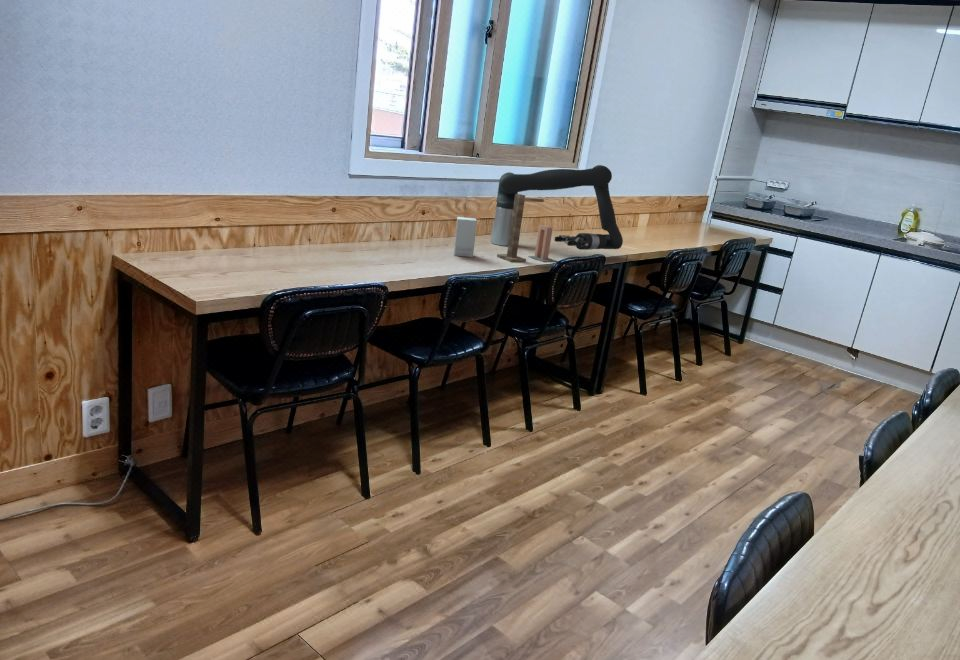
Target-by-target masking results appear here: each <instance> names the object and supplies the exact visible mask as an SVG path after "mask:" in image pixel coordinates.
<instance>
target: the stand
mask: <svg viewBox="0 0 960 660" xmlns="http://www.w3.org/2000/svg"><path fill="white" fill-rule="evenodd" d="M525 202H531V203H532V202H533V203H544V202H545V199H544V198H531V197H530V198H529V197H528V198H527V197H526V194H522V193H518V194H515V200H514V207H513V214H512V221H511V229H510V236H509V243H508V246H507V252H506V253H496V258H499V259H502V260H505V261H507V262H509V263H521V262H522V263H527V258H525V257H521V256H519V255H518V249H519V242H520V236H521V228H522V222H523V215H524V208H525Z"/></svg>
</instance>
